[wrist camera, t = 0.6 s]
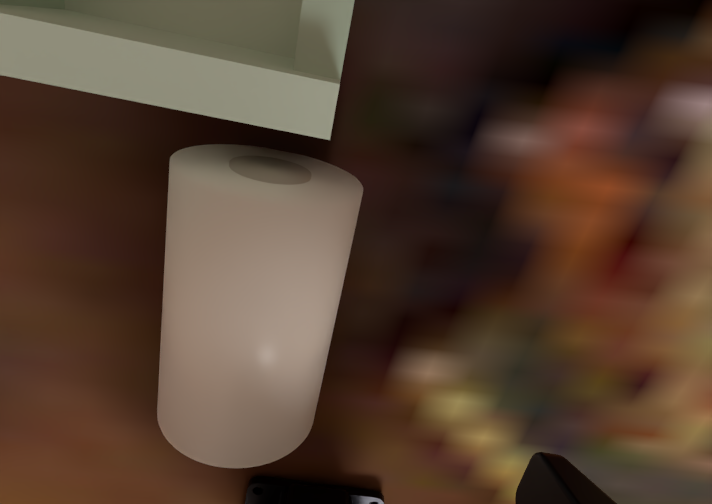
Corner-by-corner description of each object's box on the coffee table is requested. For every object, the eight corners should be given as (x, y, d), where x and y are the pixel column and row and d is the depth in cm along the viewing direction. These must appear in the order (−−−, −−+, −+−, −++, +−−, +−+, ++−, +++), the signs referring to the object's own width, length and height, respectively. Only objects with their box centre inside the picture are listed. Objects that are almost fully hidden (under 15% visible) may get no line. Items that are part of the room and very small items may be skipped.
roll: (315, 370, 21) (311, 479, 16) (181, 352, 20) (132, 460, 15) (358, 161, 17) (371, 216, 12) (197, 131, 17) (139, 176, 12)
